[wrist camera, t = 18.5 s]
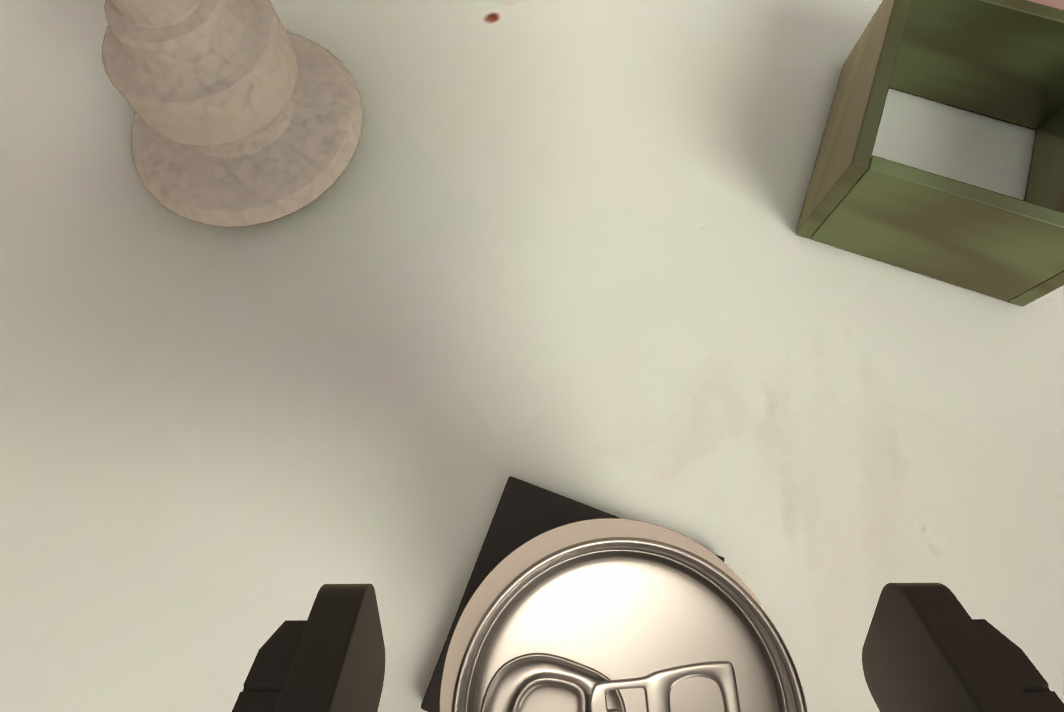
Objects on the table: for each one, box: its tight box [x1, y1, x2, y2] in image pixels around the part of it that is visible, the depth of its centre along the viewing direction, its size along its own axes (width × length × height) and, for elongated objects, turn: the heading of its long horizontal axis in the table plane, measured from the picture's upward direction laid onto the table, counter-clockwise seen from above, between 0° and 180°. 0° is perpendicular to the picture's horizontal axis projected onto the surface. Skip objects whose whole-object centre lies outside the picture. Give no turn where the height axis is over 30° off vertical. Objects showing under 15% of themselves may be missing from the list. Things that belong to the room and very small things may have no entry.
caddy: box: [796, 0, 1064, 306], centre depth 25 cm, size 9×9×5 cm
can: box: [440, 518, 807, 712], centre depth 16 cm, size 6×6×12 cm
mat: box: [421, 476, 724, 712], centre depth 22 cm, size 8×8×1 cm
